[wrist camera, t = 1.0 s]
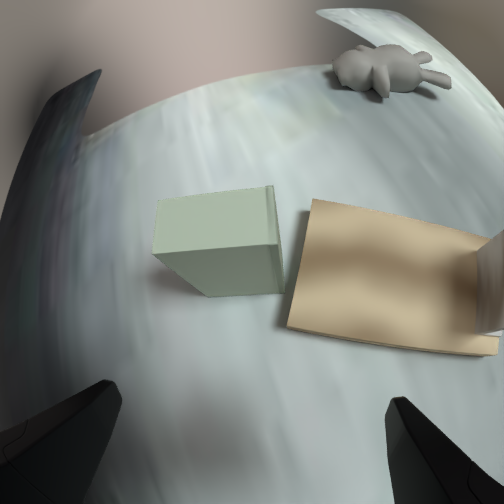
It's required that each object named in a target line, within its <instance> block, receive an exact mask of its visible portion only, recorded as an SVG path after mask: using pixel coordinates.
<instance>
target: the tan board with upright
mask: <svg viewBox="0 0 504 504" xmlns="http://www.w3.org/2000/svg"><path fill="white" fill-rule="evenodd" d="M287 328H288V329H292V330H297V331H302V332H307V333H312V334H318V335H323V336H328V337H334V338H340V339H345V340H351V341H357V342H363V343H370V344H376V345H383V346H390V347H397V348H405V349H413V350H421V351H430V352H439V353H449V354H460V355H472V356H493V355H497V352H498V343H499V337H501V336H502V330H504V230H503V231H501V232H500V233H499V234H498V235H496V236H495V237H494V238H493V239H489V238H486V237H482V236H479V235H475V234H471V233H468V232H464V231H460V230H457V229H453V228H449V227H445V226H441V225H437V224H433V223H429V222H425V221H421V220H417V219H412V218H408V217H404V216H399V215H395V214H390V213H385V212H381V211H376V210H371V209H366V208H361V207H356V206H351V205H346V204H340V203H335V202H330V201H324V200H318V199H312V205H311V210H310V216H309V221H308V226H307V232H306V237H305V242H304V247H303V252H302V257H301V262H300V267H299V272H298V277H297V282H296V286H295V291H294V295H293V300H292V304H291V309H290V313H289V318H288V322H287Z"/></svg>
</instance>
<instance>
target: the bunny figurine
mask: <svg viewBox="0 0 504 504" xmlns="http://www.w3.org/2000/svg"><path fill="white" fill-rule="evenodd" d="M431 60H432V56H431V55H430V54H429V53H427V52H424V51H421V52H418V53H416V54H414V55H412V54H411V53H409V52H408V51H407V50H405V49H404V48H403V47H401V46H399V45H382V46H379V47H377V48H375V49H371V48H368V47H365V46H363V45H358V46H356V50H348V51H346V52H344V53H342V54H341V55H340V56H339V58H337V59H336V60H332V65H333V70H334V72H335V74H336V76H338V79H339V81H340V83H341V85H342V86H348V87H350V88H351V89H353V90H355V91H358V92H362V91H367V90H369V89H370V88H371V87H372V88H373V89H375V90H376V91H377V92H378V93H379V94H380V95H381V96H382V97H383V98H389V92H390V91H392V92H408V91H413V90H414V89H415V88H416V87H417V86H418V85H419V84H420V83H421V82H422V81H425V82H428V83H431V84H433V85H436V86H439V87H441V88H444V89H448V90H449V89H451V78H450V77H449V76H448V75H446V74H444V73H441V72H436V71H432V70H427V69H422V68H420V66H419V64H423V63H429V62H430V61H431Z"/></svg>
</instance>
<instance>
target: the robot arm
mask: <svg viewBox="0 0 504 504" xmlns="http://www.w3.org/2000/svg"><path fill="white" fill-rule="evenodd" d="M121 405H122V397H121V394H120V392H119V390H118V388H117V386H116V384H115V382H113V381H110V380H106V379H104V380H101V381H100V382H98V383H96V384H94V385H92V386H90V387H89V388H87V389H85V390H83V391H81V392H79V393H78V394H76V395H74V396H72V397H70V398H68V399H66V400H64V401H62V402H61V403H59V404H57V405H55V406H53V407H51V408H49V409H47V410H45V411H43V412H41V413H39V414H37V415H35V416H33V417H31V418H30V419H29V420H28V419H27V420H25V421H23V422H21V423H19V424H17V425H15V426H13V427H11V428H8V429H6V430H3V431H0V504H83V502H84V499H85V497H86V494H87V492H88V489H89V487H90V484H91V482H92V480H93V477H94V475H95V472H96V470H97V468H98V465H99V463H100V461H101V458H102V456H103V454H104V452H105V449H106V447H107V445H108V442H109V440H110V438H111V435H112V432H113V429H114V426H115V423H116V420H117V417H118V414H119V411H120V408H121ZM385 428H386V441H387V457H388V465H389V471H390V477H391V483H392V489H393V495H394V502H395V504H504V486H502V485H501V484H500V483H498V482H497V481H496V480H494V479H493V478H492V477H490V476H489V475H488V474H487V473H486V472H485V471H483V470H482V469H481V468H480V467H479V466H478V465H477V464H476V463H475V462H474V461H472V460H471V459H470V458H469V457H468V456H467V455H466V454H465V453H464V452H463V451H462V450H461V449H460V448H459V447H458V446H457V445H456V444H455V443H453V442H452V441H451V440H450V439H449V438H448V437H447V436H446V435H445V434H444V433H443V432H442V431H441V430H440V429H439V428H438V427H437V426H436V425H434V424H433V423H432V422H431V421H430V420H429V419H428V418H427V417H426V416H425V415H424V414H423V413H422V412H421V411H420V410H419V409H418V408H416V407H415V406H414V405H413V404H412V403H411V402H410V401H409V400H408V399H407V398H406V397H404V396H402V397H394V398H392V399H391V401H390V404H389V406H388V409H387V412H386V414H385Z"/></svg>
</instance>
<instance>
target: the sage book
mask: <svg viewBox="0 0 504 504" xmlns="http://www.w3.org/2000/svg"><path fill="white" fill-rule="evenodd" d="M152 255H154V256H155V257H156V258H157V259H159V260H160V261H161V262H162V263H164V264H165V265H166V266H168V267H169V268H170V269H171V270H173V271H174V272H175V273H177V274H178V275H179V276H181V277H182V278H183V279H184V280H186V281H187V282H188V283H190V284H191V285H192V286H194V287H195V288H196V289H198V290H199V291H200V292H202V293H203V294H204V295H206V296H207V297H224V296H242V295H258V294H273V293H280V294H282V293H285V287H284V272H283V258H282V249H281V240H280V232H279V224H278V217H277V209H276V201H275V194H274V187H273V186H265V187H261V188H251V189H241V190H232V191H224V192H215V193H207V194H200V195H192V196H185V197H178V198H171V199H165V200H158V203H157V211H156V219H155V227H154V236H153V246H152Z"/></svg>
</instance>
